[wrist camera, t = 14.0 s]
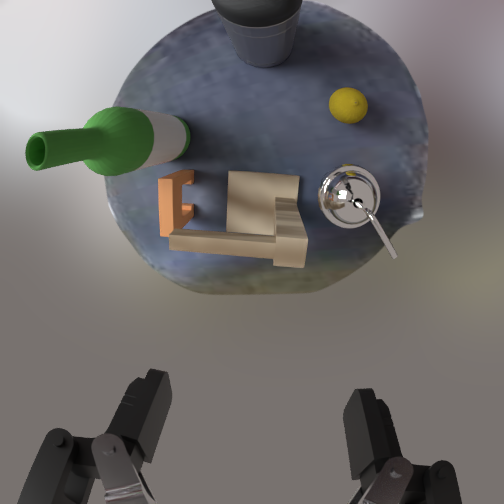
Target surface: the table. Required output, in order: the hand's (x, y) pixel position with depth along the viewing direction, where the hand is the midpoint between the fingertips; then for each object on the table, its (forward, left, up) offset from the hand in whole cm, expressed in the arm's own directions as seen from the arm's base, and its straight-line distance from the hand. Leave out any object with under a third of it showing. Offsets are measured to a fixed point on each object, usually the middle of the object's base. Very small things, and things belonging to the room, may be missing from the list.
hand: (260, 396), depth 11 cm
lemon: (-16, +10, -38) cm, 42 cm away
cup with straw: (-3, +10, -38) cm, 39 cm away
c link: (0, -14, -37) cm, 40 cm away
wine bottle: (-10, -17, -38) cm, 42 cm away
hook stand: (+1, -3, -37) cm, 38 cm away
